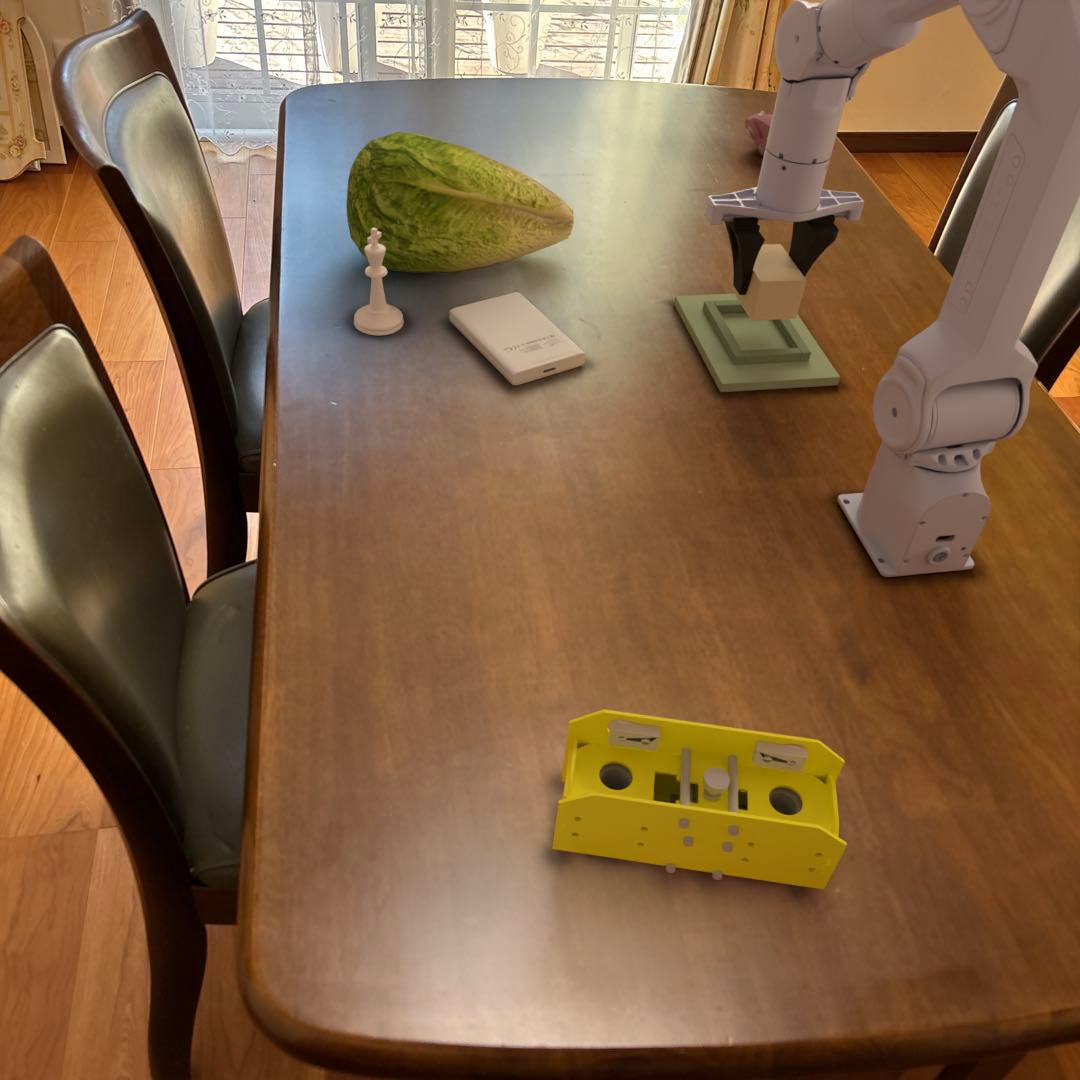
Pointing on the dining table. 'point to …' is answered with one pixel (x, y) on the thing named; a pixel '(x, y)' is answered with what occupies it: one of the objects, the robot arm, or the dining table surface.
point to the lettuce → (448, 206)
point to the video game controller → (759, 129)
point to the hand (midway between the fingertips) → (765, 288)
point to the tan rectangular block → (772, 286)
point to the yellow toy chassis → (700, 798)
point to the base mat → (753, 346)
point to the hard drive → (516, 338)
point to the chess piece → (377, 295)
